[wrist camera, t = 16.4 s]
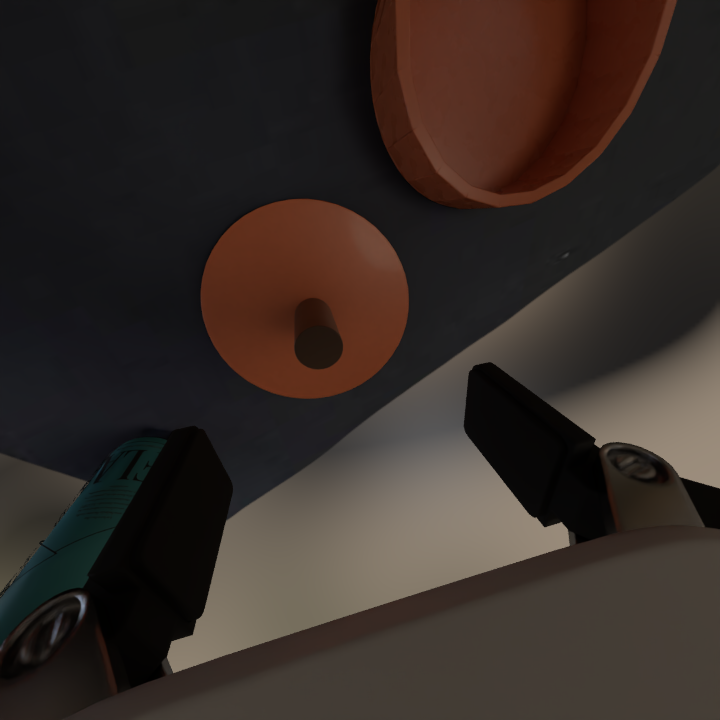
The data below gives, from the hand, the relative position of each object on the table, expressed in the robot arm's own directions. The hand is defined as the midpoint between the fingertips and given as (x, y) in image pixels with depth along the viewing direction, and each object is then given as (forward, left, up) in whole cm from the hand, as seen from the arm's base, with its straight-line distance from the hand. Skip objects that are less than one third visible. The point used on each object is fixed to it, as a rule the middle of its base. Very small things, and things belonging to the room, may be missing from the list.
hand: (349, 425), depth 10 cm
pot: (-13, +13, -15) cm, 24 cm away
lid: (+1, -1, -15) cm, 15 cm away
